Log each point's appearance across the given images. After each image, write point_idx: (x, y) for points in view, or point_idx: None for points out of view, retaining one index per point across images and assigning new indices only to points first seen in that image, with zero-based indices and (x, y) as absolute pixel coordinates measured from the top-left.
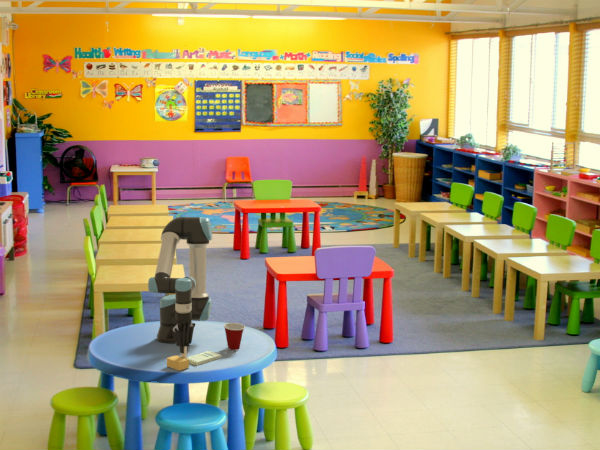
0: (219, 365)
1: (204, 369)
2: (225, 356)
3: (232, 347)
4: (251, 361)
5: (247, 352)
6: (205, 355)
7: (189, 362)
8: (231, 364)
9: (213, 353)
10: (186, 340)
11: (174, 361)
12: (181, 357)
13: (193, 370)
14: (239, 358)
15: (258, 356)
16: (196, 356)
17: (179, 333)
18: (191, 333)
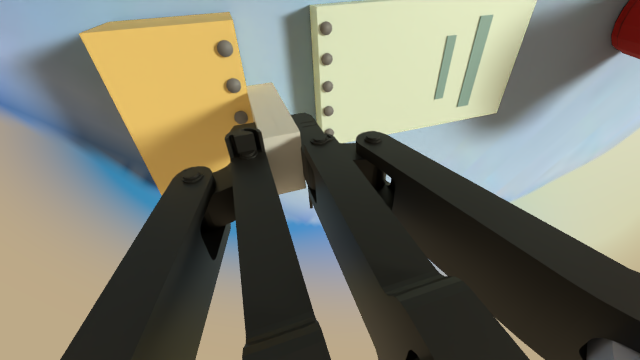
0: None
1: None
2: (507, 102)
3: (624, 41)
4: None
5: (582, 116)
6: (448, 68)
7: (314, 73)
8: None
9: (500, 65)
10: (324, 230)
11: (142, 152)
12: (236, 122)
13: None
14: (504, 160)
15: (546, 177)
16: (404, 40)
17: (248, 327)
18: (453, 270)
